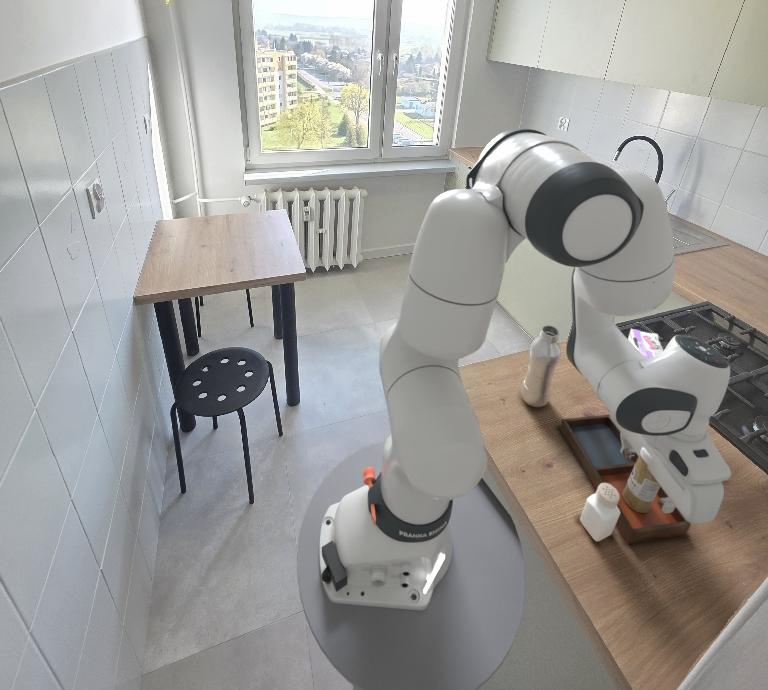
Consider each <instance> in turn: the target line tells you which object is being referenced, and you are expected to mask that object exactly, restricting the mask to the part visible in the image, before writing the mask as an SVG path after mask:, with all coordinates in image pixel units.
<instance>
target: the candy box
mask: <svg viewBox="0 0 768 690" xmlns="http://www.w3.org/2000/svg"><path fill="white" fill-rule="evenodd" d="M627 339H628V340H629V341H630V342H631V343H632V344H633V345H634V347H635V348H636V349H637V350H638V351H639V352H640V353H641V354H642V355H643V356H644V357H645V358H646V359H650V358H653V357H655V356H657V355H659V354H660V353H662V352H663V351H664V347H663V345H662V342H661V340H660V337H659V333H654V332H649V331H644V330H639V329H634V328H630V330H629V333H628V337H627Z"/></svg>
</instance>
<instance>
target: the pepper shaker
mask: <svg viewBox="0 0 768 690" xmlns="http://www.w3.org/2000/svg"><path fill="white" fill-rule="evenodd" d="M619 499H620V498H619V493H618V491H617V490H616V488H614V487H613V486H612V485H610V484H608V483H601V484H600V485H599V486H598V488H597V491H596V490H595V493H592V494H591V495H589V496H588V497H587V498H586V501H585V503H584V507H583V509H582V512H581V515H580V517H579V521H580V523H581V525H582V526H583V527H584V529H585V530H586V531H587V533H588V534H589V535H590V536H591V538H592V539H593V540H594V541H595V542H600V541H602V540H604V539H606V538H607V537H609V536H611V535H612V534H613V532H614V530H615V527H616V526H617V525H616V523H617V520H618V518H619V516H620V510H619V508H618V507H617V504H618V502H619Z"/></svg>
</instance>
